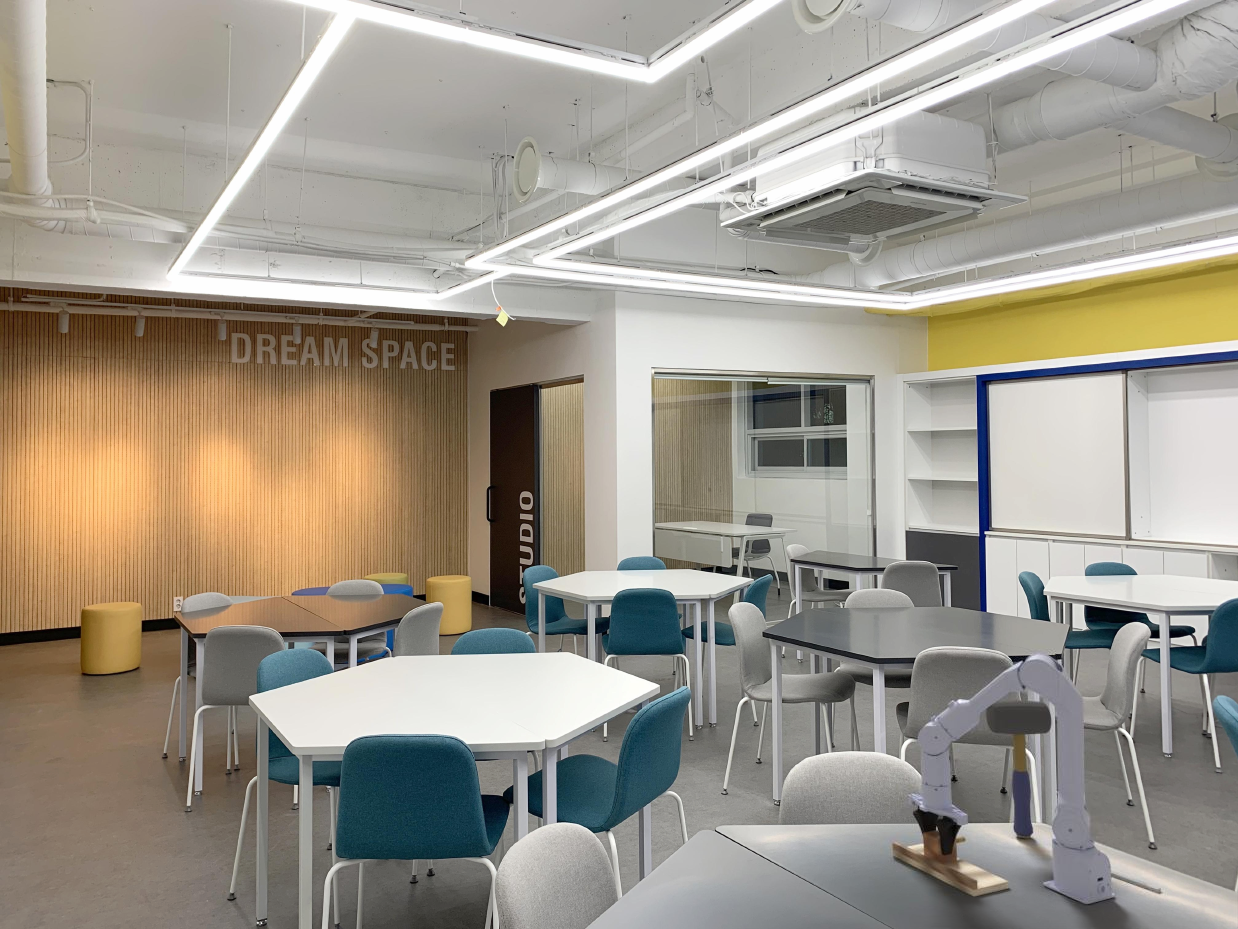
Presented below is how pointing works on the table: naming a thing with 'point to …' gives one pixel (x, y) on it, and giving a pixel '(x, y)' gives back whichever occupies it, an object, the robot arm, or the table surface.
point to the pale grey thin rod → (1135, 881)
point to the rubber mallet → (1020, 749)
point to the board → (951, 871)
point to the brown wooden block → (938, 847)
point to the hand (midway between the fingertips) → (938, 850)
